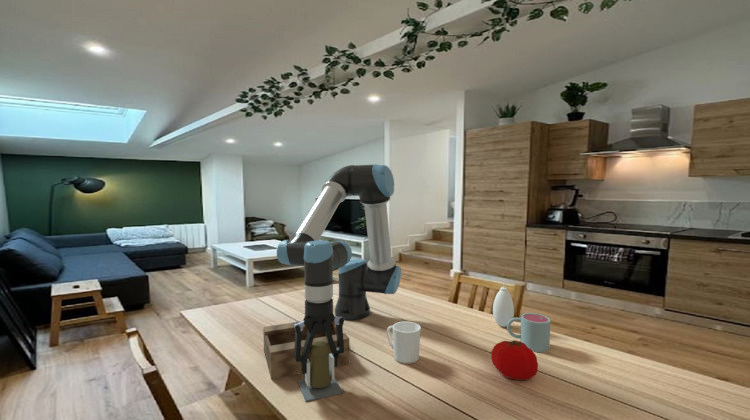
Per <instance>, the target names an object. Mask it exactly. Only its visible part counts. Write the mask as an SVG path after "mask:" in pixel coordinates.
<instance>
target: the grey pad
mask: <svg viewBox="0 0 750 420" xmlns="http://www.w3.org/2000/svg"><path fill="white" fill-rule="evenodd" d="M297 384H298V386H299V388H300V392H301V394H302V396H303V399H304V402H305V403H307V402H312V401H317V400H318V399H319V400H320V399H323V398H329V397H332V396H336V395H341V394H344V391H343V390H342V388H341V386H340V384H339V382H338V380H337V379H336V377H335V376H334V381H331V382H330V384H329V385H328V386H326V387H323V388H314V387H311V386H308V387H307V384H306V382H305V378H304V379H299V380H297Z"/></svg>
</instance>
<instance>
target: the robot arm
mask: <svg viewBox="0 0 750 420" xmlns="http://www.w3.org/2000/svg"><path fill="white" fill-rule="evenodd" d="M394 192H395V179H394V175H393V172H392V169H390V167H389V166H387V165H383V164H376V163H375V164H357V165H355V164H352V165H350V164H349V165H346V166H343V167H341V168H340V169H338V170H336V171H334V172H333V173H332V174H331V175H330V176H329V177H328V178H327V179H326V180H325V182H324V183H323V184H322V187H321V193H320V195H319V196H318V198H317V199H316V201H315V202H314V204H313V205H312V207H311V209H310V210H309V212H308V214H307V215H306V216H305V218H304V219H303V221H302V222H301V224H300V226H299V227H298V228H297V231H296V232H295V233H294V235H293V237H292V238H291V239H284V240H282V241H280V242H279V244H278V245H277V247H276V258H277V260H278V262H279V263H281V264H282V265H287V266H296V267H297V266H298V267H304V298H305V300H304V317H303V320H301V321H302V322H300V321H294V322H295V323H294V324H293V325H294V328H295V348H294V358H295V360H296V362H301V370H302V373H301V374H303V375H304V379H305V382H306V384H307V387H308V386H310V362H309V360H308V356H309V353H310V349H311V346H312V343H313V339H314V338H315V335H316V334H318V333H325V335H326V337H327V340H328V343H329V346H330V349H331V352H332V353H331V354H329V371H330V378H331V381H334V377H335V368H337V367H338V366H337V365H338V357H339V354H340V353H344V340H343V333H344V329H343V326H344V322H345V320H348V321H353V320H356V321H357V320H361V319H365V318H367V317H369V316H370V314H371V308H370V304H369V302H368V298H367V293H376V294H384V295H394V294H395V293H396V292H397V291H398V289H399V286H400V282H401V278H402V277H401V276H402V269H401V266H400V265H397V263H396V260H395V258H393V257H392V251H391V250H392V249H391V240H390V228H389V227H390V226H389V218H388V217H389V215H388V202H390V200H391V197H392V196H393V195H394ZM351 196H352V197H353V196H355V197H358V198H359V202H360V204H361V205H363V206H364V214H365V223H366V232H367V242H368V249H369V258H370V259H369V260H368V262H367V261H366V259H364V258H355V259H352V256H353V251H352V248H351V246H350V245H349V243H347V242H345V241H341V240H340V241H338V240H337V241H334V242H331V241H330V240H329V241H328V240H320V238H321V237H322V235H323V233H324V232H325V230H326V228H327V226H328V224H329V223H330V221H331V219H332V217H333V216H334V214H335V212H336V210H337V209H338V206H339V205H340V203H342V202H344V201H345V200H346V198H347V197H351ZM336 270H338V273H337V274H338V298H337V301H336V305H335V308H334V299H333V297H334V288H333V287H334V281H333V278H334V275H333V272H334V271H336ZM334 321H335V324H336V334H337V348H336V346H335V343H334V341H333V338H332V335H331V331H330V326H331V325H332V323H333V322H334ZM297 322H299V323H297ZM304 326H306V327H307V328H308V332H307V338H306V341H305V344H304V348H303V351H302V355H301V338H302V333H301V331H302V330H303V327H304Z"/></svg>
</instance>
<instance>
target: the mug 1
mask: <svg viewBox="0 0 750 420" xmlns="http://www.w3.org/2000/svg"><path fill="white" fill-rule="evenodd" d="M391 329H392V339H391V335H390V334H391V333H390V330H391ZM421 329H422V327H421V325H420V324H419V323H416V322H413V321H409V320H407V321H406V320H405V321H403V320H402V321H399V322H395V323H394V324H393V325H389V326H388V327H387V329H386V335H387V340H388V343H389V346H390V347H391V349H392V350H393V358H394V361H396V362H397V363H399V362H400V363H399V364H402V363H403V365H411V364H412V363H413V364H415V363H417V362H419V359H420V348H421V346H420V344H421Z"/></svg>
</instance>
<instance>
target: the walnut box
mask: <svg viewBox="0 0 750 420" xmlns="http://www.w3.org/2000/svg"><path fill="white" fill-rule="evenodd" d="M302 321H303V320H300V321H293V322H287V323H281V324H274V325H268V326H263V327H262V329H263V330H262V331H263V333H262V334H263V351H264V357H265V360H266V365H267V368H268V373H269V376H270V380H272V381H273V380H276V379H282V378H286V377H291V376H295V375H300V374H303V373H302V370H301V362H296V360H295V358H294V348H295V328H294V325H293V324H294V323H295V322H297V323H299V322H302ZM330 331H331V335H332V338H333V341H334V343H335V346H336V348H337V334H336V324H335V321H334V322H333V323H332V325H331V326H330ZM307 332H308V328H307V327H306V326H304V327H303V330H302V331H301V333H302V338H301V355H302V351H303V348H304V344H305V341H306V338H307ZM343 340H344V353H340V354H339V357H338V365H337V367H339V366H343V365H347V364H348V365H349V364H350V337H349V336H348V335H347V333H346V332H343ZM316 341H324V342H326V343H327V344H328V346H329V343H328V340H327V337H326V335H325V333H318V334H316V335H315V338H314V339H313V343H314V342H316ZM331 353H332V352H331V349H330V346H329V352H328V354H327V358H328V364H329V354H331ZM311 359H312V355H311V354H310V353H309V356H308V360H309V362H310V367H311Z"/></svg>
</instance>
